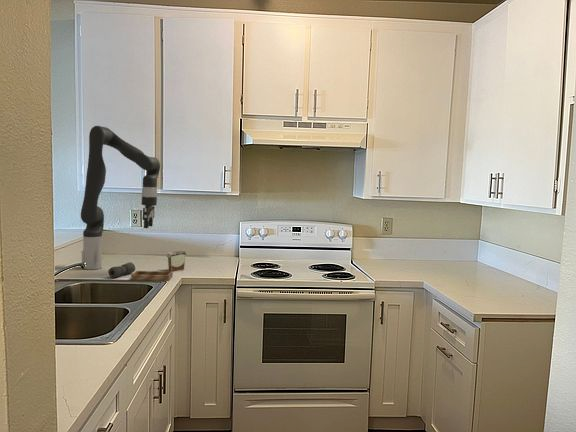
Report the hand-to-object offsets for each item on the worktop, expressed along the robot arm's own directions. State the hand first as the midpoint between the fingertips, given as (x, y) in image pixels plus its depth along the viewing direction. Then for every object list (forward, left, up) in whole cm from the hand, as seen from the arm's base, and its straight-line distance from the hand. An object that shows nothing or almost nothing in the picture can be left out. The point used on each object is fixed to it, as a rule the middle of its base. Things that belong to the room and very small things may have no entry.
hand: (148, 227), depth 243 cm
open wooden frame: (+5, -12, -24) cm, 27 cm away
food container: (+12, +9, -24) cm, 29 cm away
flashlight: (-14, -13, -26) cm, 32 cm away
